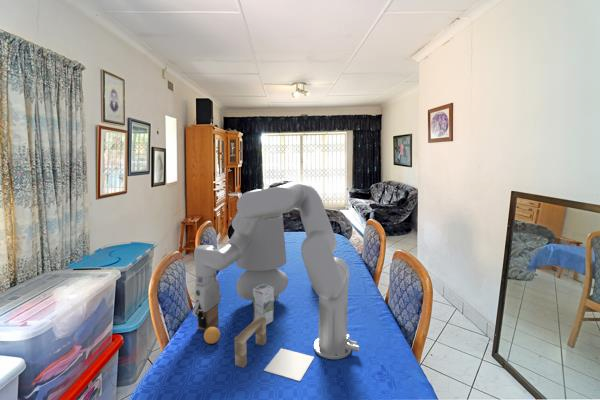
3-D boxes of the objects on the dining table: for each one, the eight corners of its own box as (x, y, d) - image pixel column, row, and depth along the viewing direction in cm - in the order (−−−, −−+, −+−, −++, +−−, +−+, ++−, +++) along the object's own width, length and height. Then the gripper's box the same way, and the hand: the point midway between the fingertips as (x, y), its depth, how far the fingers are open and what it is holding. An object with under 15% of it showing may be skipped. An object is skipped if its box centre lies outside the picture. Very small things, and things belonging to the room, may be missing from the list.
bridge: (266, 342, 114) (265, 318, 112) (243, 367, 100) (242, 340, 99) (258, 340, 115) (258, 316, 113) (235, 365, 102) (234, 338, 100)
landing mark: (314, 357, 105) (314, 356, 105) (299, 381, 94) (299, 380, 94) (281, 348, 110) (281, 348, 110) (263, 370, 99) (263, 370, 99)
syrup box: (263, 316, 131) (263, 282, 129) (274, 321, 128) (273, 286, 125) (253, 322, 127) (252, 287, 125) (263, 327, 123) (263, 291, 121)
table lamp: (282, 289, 157) (281, 208, 151) (295, 310, 137) (295, 217, 130) (234, 296, 150) (231, 211, 144) (240, 319, 129) (237, 221, 123)
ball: (223, 339, 115) (222, 325, 114) (213, 348, 110) (213, 333, 109) (211, 336, 117) (210, 322, 117) (200, 344, 112) (200, 330, 112)
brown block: (218, 323, 126) (217, 304, 125) (208, 331, 120) (207, 311, 119) (208, 321, 128) (207, 302, 127) (198, 328, 122) (197, 309, 121)
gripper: (198, 288, 112) (201, 336, 115) (228, 271, 128) (229, 314, 130) (181, 285, 115) (184, 332, 118) (212, 269, 131) (214, 310, 133)
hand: (208, 322), depth 124 cm, fingers closed on brown block, 6 cm apart
